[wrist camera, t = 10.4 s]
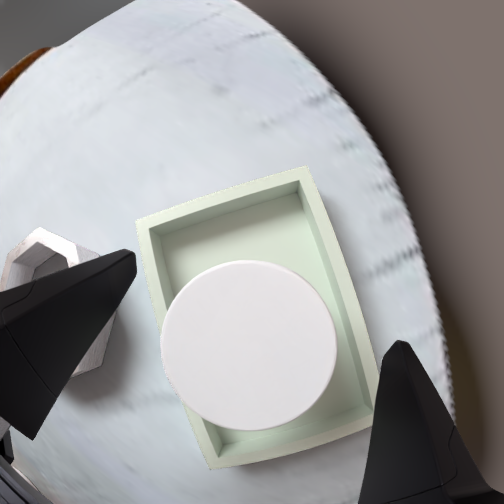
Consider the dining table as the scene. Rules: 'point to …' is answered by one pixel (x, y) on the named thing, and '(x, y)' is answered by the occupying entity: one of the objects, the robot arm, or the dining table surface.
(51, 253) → the steel collar
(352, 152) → the dining table surface
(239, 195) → the sage tray
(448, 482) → the robot arm
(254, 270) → the pill bottle
